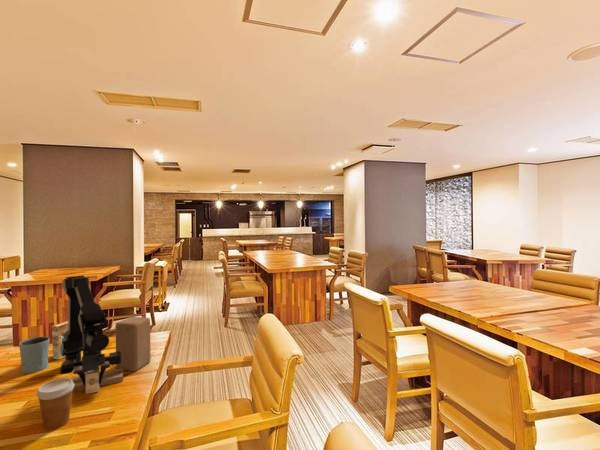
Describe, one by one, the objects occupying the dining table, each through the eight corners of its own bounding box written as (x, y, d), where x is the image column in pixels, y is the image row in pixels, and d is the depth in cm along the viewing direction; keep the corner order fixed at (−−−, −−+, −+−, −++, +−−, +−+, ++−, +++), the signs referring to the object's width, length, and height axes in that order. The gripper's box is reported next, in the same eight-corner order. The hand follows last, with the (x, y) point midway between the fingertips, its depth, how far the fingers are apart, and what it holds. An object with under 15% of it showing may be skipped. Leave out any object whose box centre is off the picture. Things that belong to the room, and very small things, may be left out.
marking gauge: (89, 379, 130) (88, 361, 130) (101, 377, 132) (100, 359, 132) (85, 395, 118) (85, 376, 118) (98, 392, 120) (98, 373, 120)
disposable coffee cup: (69, 410, 110) (68, 374, 109) (79, 421, 103) (78, 384, 103) (33, 424, 102) (32, 386, 102) (42, 437, 96) (41, 396, 96)
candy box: (59, 360, 148) (58, 326, 148) (52, 359, 149) (51, 325, 149) (77, 352, 157) (76, 320, 156) (70, 351, 158) (69, 319, 158)
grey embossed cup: (16, 376, 133) (15, 346, 133) (23, 366, 142) (22, 338, 142) (47, 370, 138) (47, 342, 138) (52, 361, 147) (52, 334, 147)
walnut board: (54, 386, 125) (54, 381, 125) (123, 372, 136) (123, 368, 136) (50, 396, 118) (49, 390, 118) (122, 381, 129) (122, 376, 129)
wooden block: (136, 372, 136) (135, 324, 136) (115, 370, 138) (114, 322, 138) (151, 362, 146) (151, 317, 146) (131, 360, 148) (131, 315, 148)
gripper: (56, 356, 110) (57, 402, 111) (120, 346, 119) (121, 388, 119) (62, 345, 120) (63, 387, 120) (120, 336, 129) (121, 375, 129)
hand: (92, 385), depth 122 cm, fingers closed on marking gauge, 4 cm apart
